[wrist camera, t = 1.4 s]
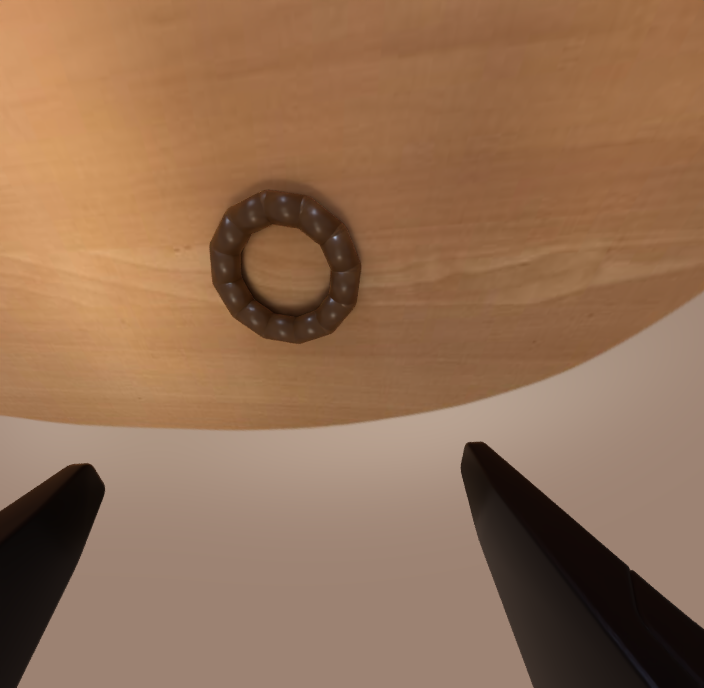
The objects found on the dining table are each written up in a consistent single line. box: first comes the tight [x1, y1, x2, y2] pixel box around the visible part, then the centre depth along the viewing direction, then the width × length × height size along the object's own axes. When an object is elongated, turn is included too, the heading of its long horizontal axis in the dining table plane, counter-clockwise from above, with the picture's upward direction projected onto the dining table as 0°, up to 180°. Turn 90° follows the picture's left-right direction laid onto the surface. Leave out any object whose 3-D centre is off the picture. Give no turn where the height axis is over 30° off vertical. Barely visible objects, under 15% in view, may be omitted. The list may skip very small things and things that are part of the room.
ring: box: [209, 190, 361, 344], centre depth 19 cm, size 8×8×2 cm
